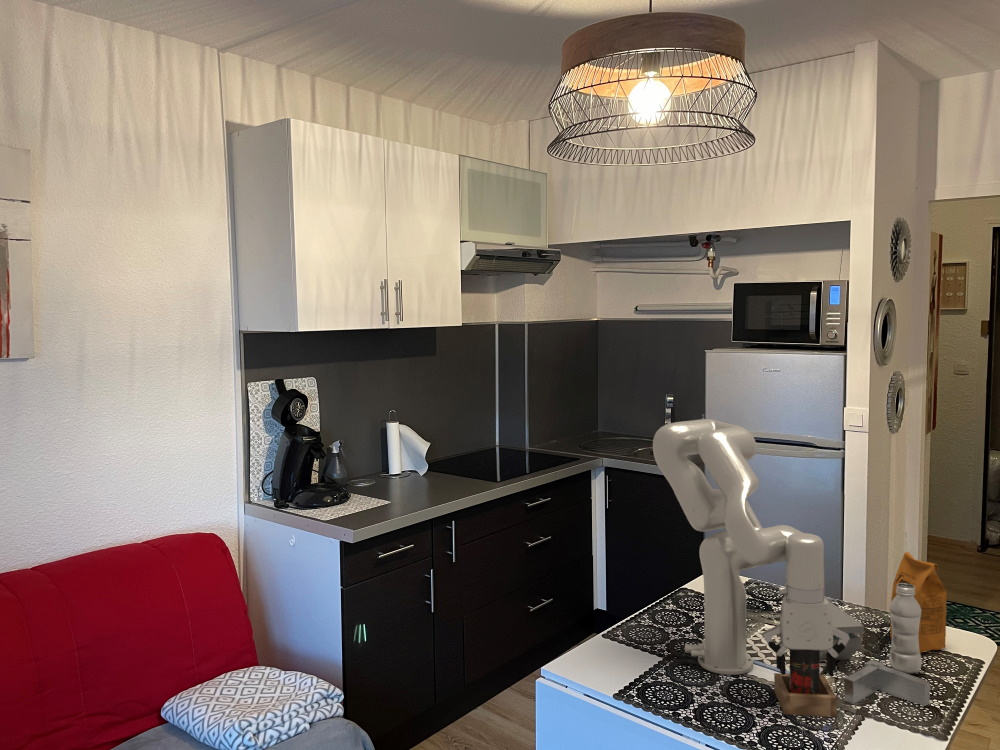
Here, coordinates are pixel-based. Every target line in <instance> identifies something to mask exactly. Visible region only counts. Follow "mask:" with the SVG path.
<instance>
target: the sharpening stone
mask: <svg viewBox="0 0 1000 750" xmlns="http://www.w3.org/2000/svg"><path fill="white" fill-rule="evenodd" d="M784 597H785V595H783V598H784ZM824 598H825V599H826V600H827V601H828V602H829V606H830V611H831V618H832V627H834V628H836V629H838V630H840V631H842V632H844V633H846V634H848V636H849V637H850V639H849V641H848V642H847V644H846V645H845V649H844V650H843V651H842V652H840V653H839V654H838V657H837V658H836V661H841V660H842V661H844V660H847V659H848V660H850V659H851V657H853V656H854V655H855V654H856V653H857V652H858V651H859V650H860V649H861V648H862V638H861V636H859V635H858V634H863V633H865V631H864V630H865V626H864V625H863V624H862V623H860V622H859V621H857V620H856V619H854V617H852V616H851V615H849V614H848V613H847V612H845V611H844V610H843V609H842V608H840V607H838V606H837V605H836V604H834V603H833V602H831V601H830V600H829V599H828V598H826V597H825V596H824ZM839 639H840V638H839V637H837V636H835V635H833V646H834V645H835V644H836V643H837V642H839ZM827 652H828V651H827V650H824V651H820V660H826V653H827Z"/></svg>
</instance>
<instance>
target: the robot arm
mask: <svg viewBox="0 0 1000 750" xmlns="http://www.w3.org/2000/svg"><path fill="white" fill-rule="evenodd" d="M652 440H653V441H652V452H653V457H654V460H655V462H656V464H657V467H658V469H659V470H660V471H661V473H662V475H663V476H664V477H665V479H666V480H667V482H668V483H669V485H670V487H671V488H672V490H673V492H674V495H675V497H676V499H677V501H678V503H679V505H680V507H681V509H682V510H683V513H684V515H685V516H686V519H687V521H688V522H689V524H690V525H691V527H692V528H693V529H694V530H695V531H698V532H702V533H703V532H704V533H705V532H711V531H712V532H713V531H716V530H721V529H725V531H721V532H716V533H712V534H711V535H709V536H707V537H706V538H704V539H703V541H701V544H700V545H699V553H698V554H699V559H700V564H701V569H702V577H703V590H704V591H703V594H704V595H703V597H704V639H702V641H701V642H702V643H698V644H692V643H691V644H687V643H685V644H684V652H685V653H688V654H690V656H691V657H697V662H698V665H700V667H702V668H703V669H704V670H706V671H709V672H710V673H711V672H712V673H715V674H719V675H726V676H737V675H744V674H746V673H749V672H750V671H752V670H753V668H754V660H753V658H752V657H751V656H750V655H748V654H747V592H746V587H745V585H744V583H743V581H742V579H741V577H740V575H739V573H740V572H742V571H745V570H749V569H753V568H756V567H762V566H768V565H770V564H776V563H779V562H780V563H782V562H785V583H784V586H782V587H778V593H779V594H780V595H783V597H782V602H781V607H780V616H779V617H780V618H779V624H777V625H776V626H773V627H770V628H769V629H767V630H764V631H763V632H762V637H763V638H764V640H765V642H766V643H767V646H768V647H769V648H770V650H772V651H773V652H774V653H775V655H776V657H775V658H776V664H775V665H776V668H777V670H779V672H780V673H781V674H782V675H785V674H787V673H786V656H785V653H786V651H787V650H790V649H791V650H819V651H824V650H827V651H828V652H827V653H826V661H825V665H826V667H825V669H826V672H827V673H828V675H829V676H830V677H834V676H835V673H834V671H837V660H836V658H837V657H838V654H839V653H840V652H842V651H843V650H844V649H845V645H846V644H847V642H848V641H849V639H850V637H849V636H848V634H846V633H844V632H842V631H840V630H838V629H836V628H834V627H832V618H831V611H830V606H829V602H828V601H827V600H828V599H827V598H826V597H825V545H824V541H823V539H822V538H821V537H820V536H819V535H816V534H813V533H807V532H802V531H801V530H799V529H798V528H797V529H796V528H795V527H794V526H793V527H792V526H790V525H787V524H786V525H785V524H780V525H774V526H770V527H763V526H762V525H761V522H760V521H759V519H758V518H757V515H756V514H755V512H754V510H753V508H752V507H751V505H750V503H749V501H748V498H749V497H750V496H752V494H754V493H755V491H756V490H757V489H758V487H759V485H760V481H759V479H758V476H757V475H756V474H755V472H754V471H753V469H752V468H751V466H750V465H749V462H748V461H750V460H751V459H752V458H753V457H754V456H755V455H756V451H757V442H756V439H755V438H754V436H753V435H752V433H751V432H750V431H749V430H747V429H746V428H744V427H742V426H740V425H736V424H731V423H727V422H724V421H719V420H715V419H710V418H708V419H707V418H705V419H704V418H703V419H694V420H687V421H686V420H684V421H677V422H676V421H675V422H671V423H668V424H665V425H663V426H661V427H660V428H659V429H657V430H656V432H655V434H654V436H653V439H652ZM693 455H699V456H700V458H701V460H702V462H703V464H704V465H705V467H706V468H707V470H708V472H709V473H710V475H711V477H712V478H713V480H714V482H715V483H716V485H717V486H718V488H716V489H715V488H713V487H712V486H711V485H710V483H709V481H708V478H706V476H705V474H704V471H702V469H701V468H700V467H699V466H697V464H695V463H694V462H693V461H692V460H690V459H688V456H693ZM784 595H785V597H784ZM824 597H825V598H826V599H827V600H826V599H825V598H824ZM777 635H779V639H780V640H779V641H778V642H777V643H776V642H775V641H773V639H772V637H774V636H777ZM833 635H835V636H837V637H839V638H840V639H839V642H837V643H836V644H835V645H834V646H833ZM807 640H809V641H807Z"/></svg>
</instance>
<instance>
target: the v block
mask: <svg viewBox="0 0 1000 750" xmlns="http://www.w3.org/2000/svg"><path fill="white" fill-rule="evenodd" d="M843 680H844V681H843V682H844V684H843V685H844V687H843V688H844V689H843V690H844V691H843V694H844V695H843V696H844V697H843V698H844V699H843V701H844V702H846V703H848V704H851V705H855V704H857V703H858V702H860V701H862V700H864V699H865V698H867V697H869V696H870V695H873V694H874V693H876V692H878V691H877V690H879V692H882V693H885V694H887V693H888V694H887V695H889V694H890V696H892V697H895V698H897V697H898V699H900V698H901V699H900V700H903V699H904V700H903V701H905V700H907V701H906V702H908V701H910V702H909V703H911V702H913V703H917V704H920V705H923V706H926V705H928V704H929V705H930V700H931V699H930V698H931V697H930V690H931V689H930V688H931V687H930V686H931V684H930V683H931V681H929V680H925V679H924V678H923V679H922V678H920V677H917V676H915V675H911V674H908V673H903V672H900V671H897V670H894V669H893V668H891V667H888V666H886V663H884V662H880V661H878V660H875V659H870V660H869V661H867V662H865V663H864V667H863V668H861V669H859V670H857V671H855V672H853V673H852V674H849V675H848V676H846V677H844V679H843ZM913 703H912V704H913ZM929 705H928V706H929Z"/></svg>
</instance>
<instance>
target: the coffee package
mask: <svg viewBox="0 0 1000 750" xmlns="http://www.w3.org/2000/svg"><path fill="white" fill-rule="evenodd" d="M937 570H939V566H938V564H937V563H933V562H928V561H923V560H918V559H915V558H914V556H913V555H912V554H911V553H910V552H909V551H905V552H904V554H903V556H902V558H901V561H900V563H899V566H898V570H897V571H896V574H895V577H894V581H893V584H892V590H891V591H892V592H891V598H890V602H891V601H892V600H893V599H894V598H895V597H896V596H897V593H896V590H897V584H900V583H905V584H911V585H913V586H915V596H914V598H915V599H916V600H917V602H918V604H919V605H920V607H921V618H920V624H919V633H918V634H919V637H918V639H919V650H920V654H922V653H924V652H925V653H926V652H929V651H932V650H936V651H939V650H940V651H941V650H942V649H945V648H946V636H947V632H946V631H947V630H946V629H947V628H946V627H947V600H948V599H947V595H948V593H947V591H946V589H945V587H944V584H943V583H942V581H941V578H940V577H939V576H938V574H937ZM889 619H891V616H890V618H889ZM889 628H890V630H889V631H890V636H889V637H890V639H892V623H891V622H890V627H889Z"/></svg>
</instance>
